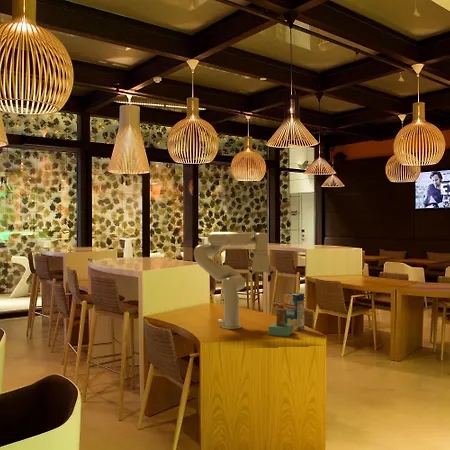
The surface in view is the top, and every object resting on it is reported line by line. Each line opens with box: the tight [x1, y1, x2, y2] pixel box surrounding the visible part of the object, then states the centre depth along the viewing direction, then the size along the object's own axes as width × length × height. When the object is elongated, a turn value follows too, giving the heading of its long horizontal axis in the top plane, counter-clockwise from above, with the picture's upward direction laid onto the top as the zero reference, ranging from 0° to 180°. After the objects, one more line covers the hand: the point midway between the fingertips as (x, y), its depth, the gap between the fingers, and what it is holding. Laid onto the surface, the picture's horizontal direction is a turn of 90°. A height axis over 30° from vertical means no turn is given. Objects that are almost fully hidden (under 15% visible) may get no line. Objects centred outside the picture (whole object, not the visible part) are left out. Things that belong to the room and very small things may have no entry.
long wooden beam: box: [276, 307, 285, 327], centre depth 308 cm, size 4×4×14 cm
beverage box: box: [283, 291, 305, 332], centre depth 320 cm, size 7×11×22 cm, turn 42°
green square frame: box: [268, 322, 294, 338], centre depth 308 cm, size 11×11×5 cm
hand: (261, 281), depth 315 cm, fingers open, 9 cm apart
